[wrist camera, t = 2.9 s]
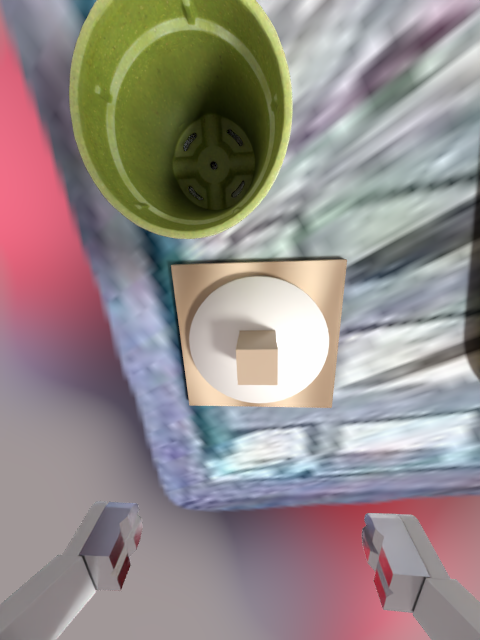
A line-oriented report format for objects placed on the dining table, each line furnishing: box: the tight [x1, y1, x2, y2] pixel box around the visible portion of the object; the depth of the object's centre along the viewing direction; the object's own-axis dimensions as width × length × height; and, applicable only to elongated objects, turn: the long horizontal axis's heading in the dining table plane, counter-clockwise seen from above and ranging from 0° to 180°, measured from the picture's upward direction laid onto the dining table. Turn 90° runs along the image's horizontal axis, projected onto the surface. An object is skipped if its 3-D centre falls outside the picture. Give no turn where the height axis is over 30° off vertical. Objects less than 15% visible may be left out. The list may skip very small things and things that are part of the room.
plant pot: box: [69, 0, 293, 239], centre depth 14 cm, size 9×9×9 cm
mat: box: [171, 259, 347, 408], centre depth 23 cm, size 14×14×1 cm
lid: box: [189, 275, 329, 403], centre depth 21 cm, size 12×12×4 cm
